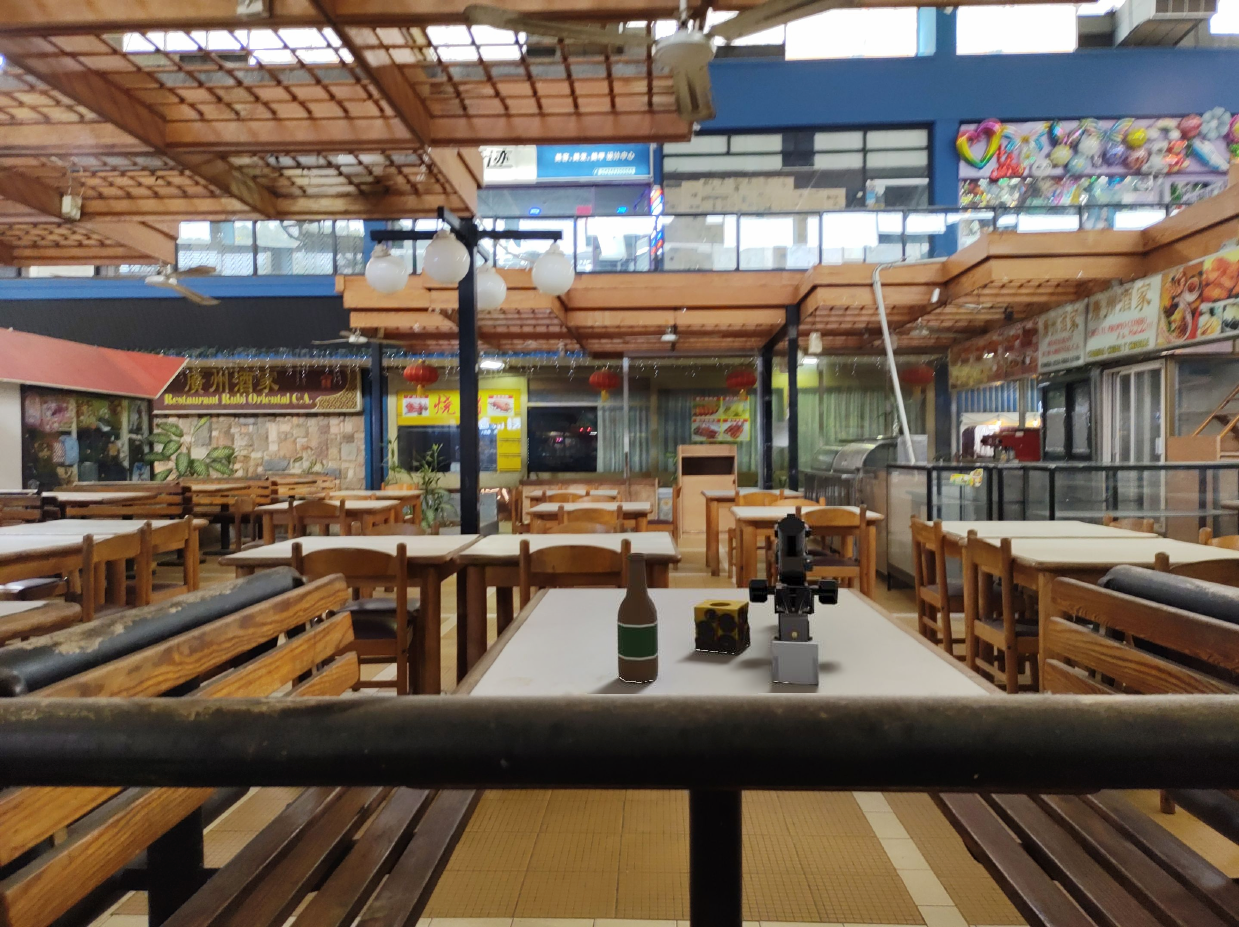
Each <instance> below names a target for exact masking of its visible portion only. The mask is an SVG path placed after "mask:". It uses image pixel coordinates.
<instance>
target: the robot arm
mask: <svg viewBox="0 0 1239 927" xmlns="http://www.w3.org/2000/svg"><path fill="white" fill-rule="evenodd" d="M805 522H806V521H805V520H804V519H801V518H800V517H797V516H796V513H795V512H794V513H793V512H791V513H790V512H789V513H788V512H787V513H786V516H785V517H783V518H782V519H778V520H777V524H774V527H773V528H774V529H773V530H774V531H773V532H774V540H777V541H776V542H775V546H774V550H775V551H774V553H775V554H774V556H775V558H774V559H775V566H776V567H778V568H777V570H778V576H777V581H776V583H775V585H768V578H753V577H752V578H750V580H749V581H748V596H749V602H750V603H754V604H765V603H766V602H767V601H768V599H769V598H768V596H773V606H774V610H773V612H774V613H773V614H775V615H776V614H777V615H778V616H777V617H778V618H777V620H778V621H777V622H778V623H777V624H778V625H777V626H778V632H777V633H778V635H777V634H776V635H774V636H773V638H774V639H775V638H776V639H777V640H779V641H782V634H781V613H800V614H806V615H807V639H808V641H810V640H813V638H814V637H813V636H811V635H810V620H809V616H812V614H813V615H814V614H815V596H818V603H819V604H822V605H826V606H827V605H829V606H830V605H831V606H835V605H837V604H838V600H839V583H838V582H837V581H836V580H835V579H818V585H809V583H808V580H807V579H808V578H807V573H808V572H811V573H812V572H814V556H813V555H811V554H810V555H809V553H808V552H809V551H808V544H807V542H806V540H809V538H810V536H812V529H811V528H810V527H809V525H808V524H806V523H805ZM776 639H775V640H776Z"/></svg>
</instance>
